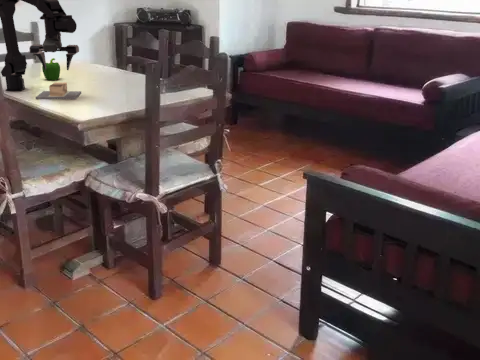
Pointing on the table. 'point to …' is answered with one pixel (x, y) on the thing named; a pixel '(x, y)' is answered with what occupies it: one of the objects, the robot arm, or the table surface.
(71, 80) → the table surface
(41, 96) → the mat
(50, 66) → the bell pepper
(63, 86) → the copper block with band
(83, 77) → the table surface
